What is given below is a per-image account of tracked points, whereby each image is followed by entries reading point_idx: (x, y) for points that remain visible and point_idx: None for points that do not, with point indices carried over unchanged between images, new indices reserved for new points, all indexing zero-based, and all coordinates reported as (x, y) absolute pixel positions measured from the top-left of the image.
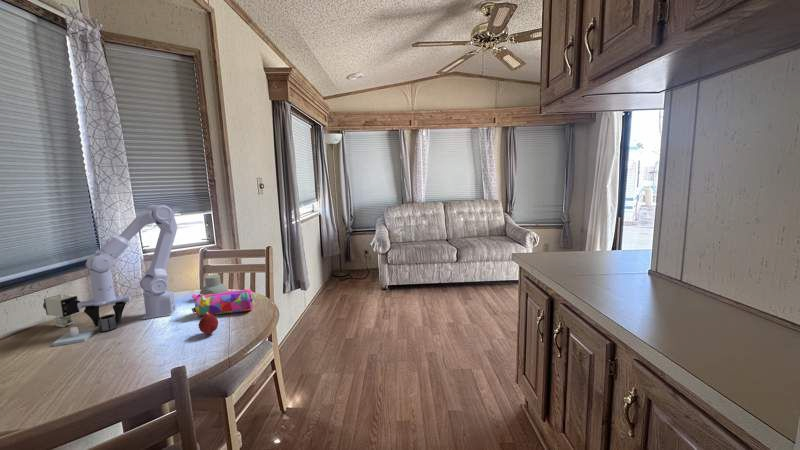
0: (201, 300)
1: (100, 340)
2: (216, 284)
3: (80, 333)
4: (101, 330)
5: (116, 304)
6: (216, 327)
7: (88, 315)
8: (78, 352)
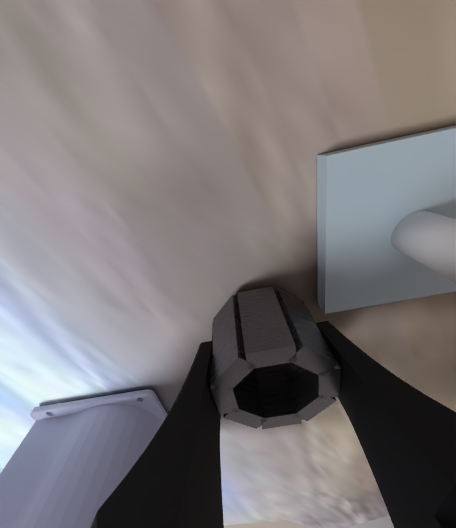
0: None
1: (204, 144)
2: None
3: (390, 263)
4: (278, 289)
5: None
6: None
7: (436, 402)
8: None
